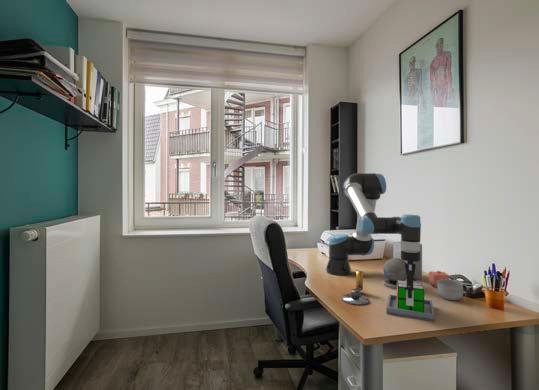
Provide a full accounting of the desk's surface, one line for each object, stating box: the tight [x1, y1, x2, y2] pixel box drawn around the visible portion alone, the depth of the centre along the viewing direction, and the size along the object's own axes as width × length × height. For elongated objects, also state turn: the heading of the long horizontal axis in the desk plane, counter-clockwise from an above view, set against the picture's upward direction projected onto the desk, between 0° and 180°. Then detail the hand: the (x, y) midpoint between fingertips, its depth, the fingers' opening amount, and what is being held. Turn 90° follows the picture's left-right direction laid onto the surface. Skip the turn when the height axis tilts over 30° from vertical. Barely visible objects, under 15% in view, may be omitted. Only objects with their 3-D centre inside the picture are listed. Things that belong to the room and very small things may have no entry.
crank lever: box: [350, 270, 364, 299], centre depth 146 cm, size 16×4×9 cm, turn 155°
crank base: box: [341, 293, 370, 306], centre depth 141 cm, size 12×12×1 cm
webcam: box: [382, 257, 407, 290], centre depth 163 cm, size 13×13×15 cm
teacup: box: [437, 279, 464, 301], centre depth 145 cm, size 14×11×8 cm
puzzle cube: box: [396, 280, 425, 313], centre depth 130 cm, size 10×10×10 cm
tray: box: [385, 294, 435, 322], centre depth 130 cm, size 18×18×2 cm
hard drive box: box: [392, 240, 423, 281], centre depth 181 cm, size 16×8×20 cm, turn 22°
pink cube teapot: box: [428, 270, 451, 289], centre depth 162 cm, size 8×12×8 cm, turn 173°
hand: (409, 300), depth 130 cm, fingers open, 13 cm apart
